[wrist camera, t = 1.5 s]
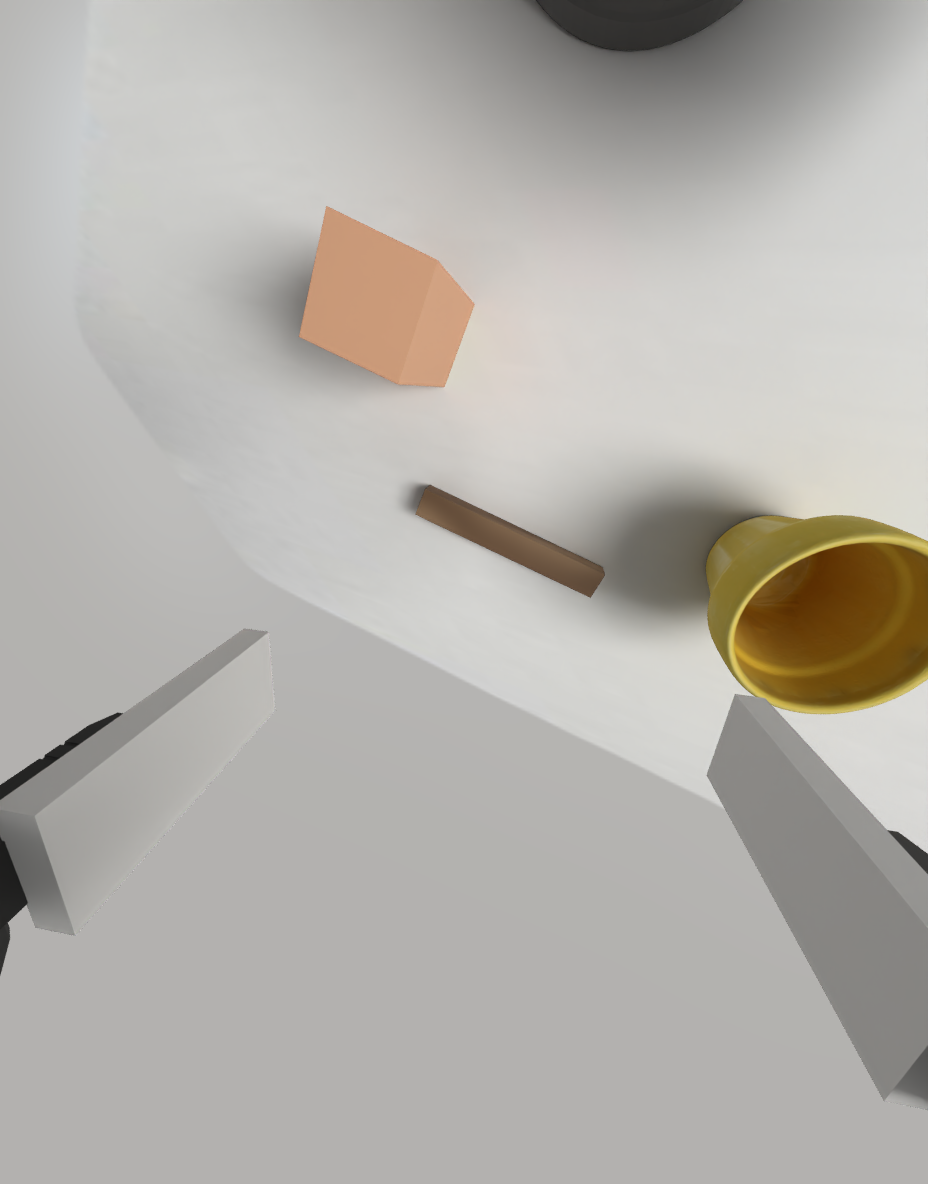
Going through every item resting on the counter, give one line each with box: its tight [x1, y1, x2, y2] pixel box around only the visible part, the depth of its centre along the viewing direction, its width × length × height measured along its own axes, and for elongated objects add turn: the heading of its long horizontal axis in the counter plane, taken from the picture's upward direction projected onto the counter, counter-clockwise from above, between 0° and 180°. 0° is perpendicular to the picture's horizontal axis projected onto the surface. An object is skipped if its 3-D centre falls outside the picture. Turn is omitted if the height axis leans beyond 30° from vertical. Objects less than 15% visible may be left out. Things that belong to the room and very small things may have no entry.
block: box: [299, 206, 475, 387], centre depth 23 cm, size 5×5×10 cm
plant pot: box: [706, 515, 928, 714], centre depth 26 cm, size 10×10×10 cm
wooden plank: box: [416, 485, 605, 598], centre depth 32 cm, size 2×14×2 cm, turn 67°
